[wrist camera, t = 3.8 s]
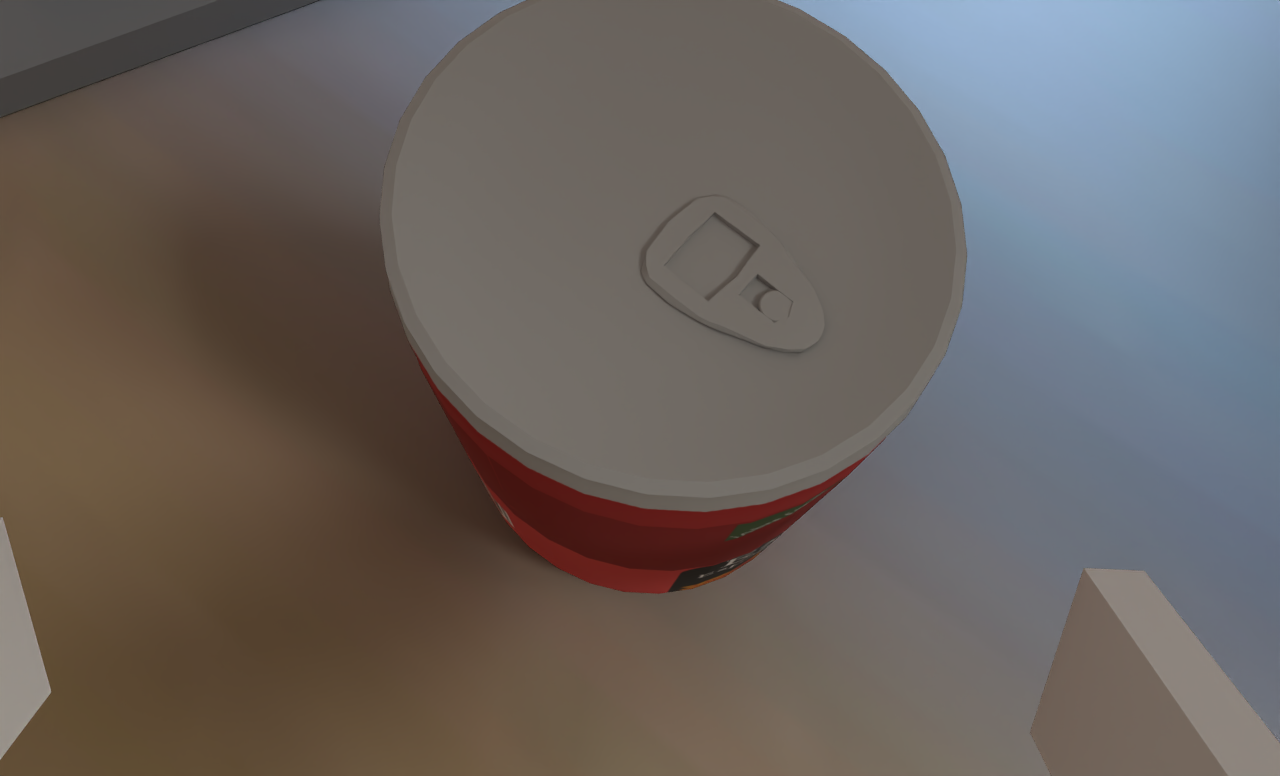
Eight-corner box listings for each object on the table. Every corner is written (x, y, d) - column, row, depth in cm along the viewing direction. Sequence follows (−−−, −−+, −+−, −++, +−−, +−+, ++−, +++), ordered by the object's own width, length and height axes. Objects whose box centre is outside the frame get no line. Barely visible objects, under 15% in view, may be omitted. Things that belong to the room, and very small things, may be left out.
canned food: (727, 657, 21) (853, 613, 11) (413, 504, 22) (249, 326, 12) (851, 367, 24) (1052, 102, 13) (562, 238, 24) (537, -109, 14)
